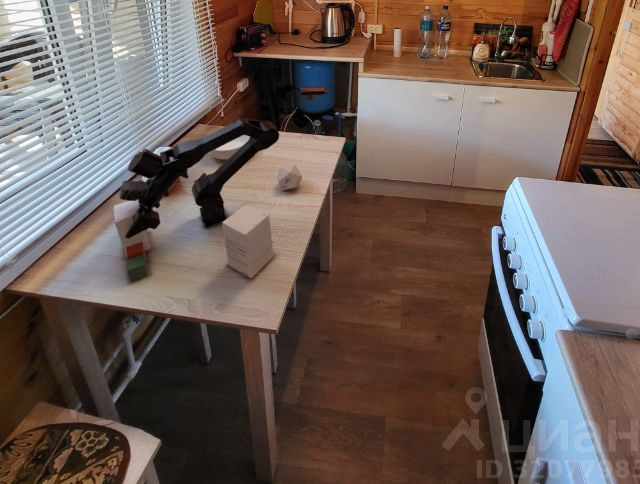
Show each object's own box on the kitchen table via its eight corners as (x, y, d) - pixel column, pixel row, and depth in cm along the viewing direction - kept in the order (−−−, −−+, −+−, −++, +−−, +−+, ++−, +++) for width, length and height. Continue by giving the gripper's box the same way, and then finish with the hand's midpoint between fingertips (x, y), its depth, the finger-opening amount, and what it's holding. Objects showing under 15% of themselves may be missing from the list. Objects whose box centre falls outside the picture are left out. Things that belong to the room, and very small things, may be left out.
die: (272, 188, 138) (273, 179, 130) (283, 166, 143) (284, 156, 135) (293, 197, 138) (295, 189, 129) (304, 175, 143) (306, 166, 135)
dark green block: (146, 265, 104) (143, 253, 103) (147, 275, 101) (144, 264, 100) (129, 271, 103) (126, 259, 101) (130, 282, 99) (127, 270, 98)
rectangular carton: (251, 244, 112) (246, 202, 107) (274, 256, 108) (270, 213, 102) (227, 265, 105) (220, 222, 99) (250, 279, 100) (245, 235, 95)
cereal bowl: (244, 166, 149) (242, 150, 147) (202, 165, 150) (199, 150, 147) (255, 144, 165) (254, 129, 163) (217, 143, 165) (215, 129, 163)
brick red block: (145, 252, 109) (142, 241, 107) (146, 261, 105) (143, 250, 104) (129, 258, 107) (126, 247, 105) (129, 268, 103) (126, 256, 102)
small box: (151, 249, 110) (140, 213, 105) (126, 259, 106) (114, 222, 101) (148, 231, 116) (138, 197, 111) (124, 240, 113) (112, 205, 108)
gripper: (133, 156, 112) (98, 200, 110) (137, 190, 97) (96, 241, 96) (167, 171, 119) (134, 212, 117) (175, 205, 104) (138, 252, 102)
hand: (126, 227), depth 108 cm, fingers closed on small box, 8 cm apart
